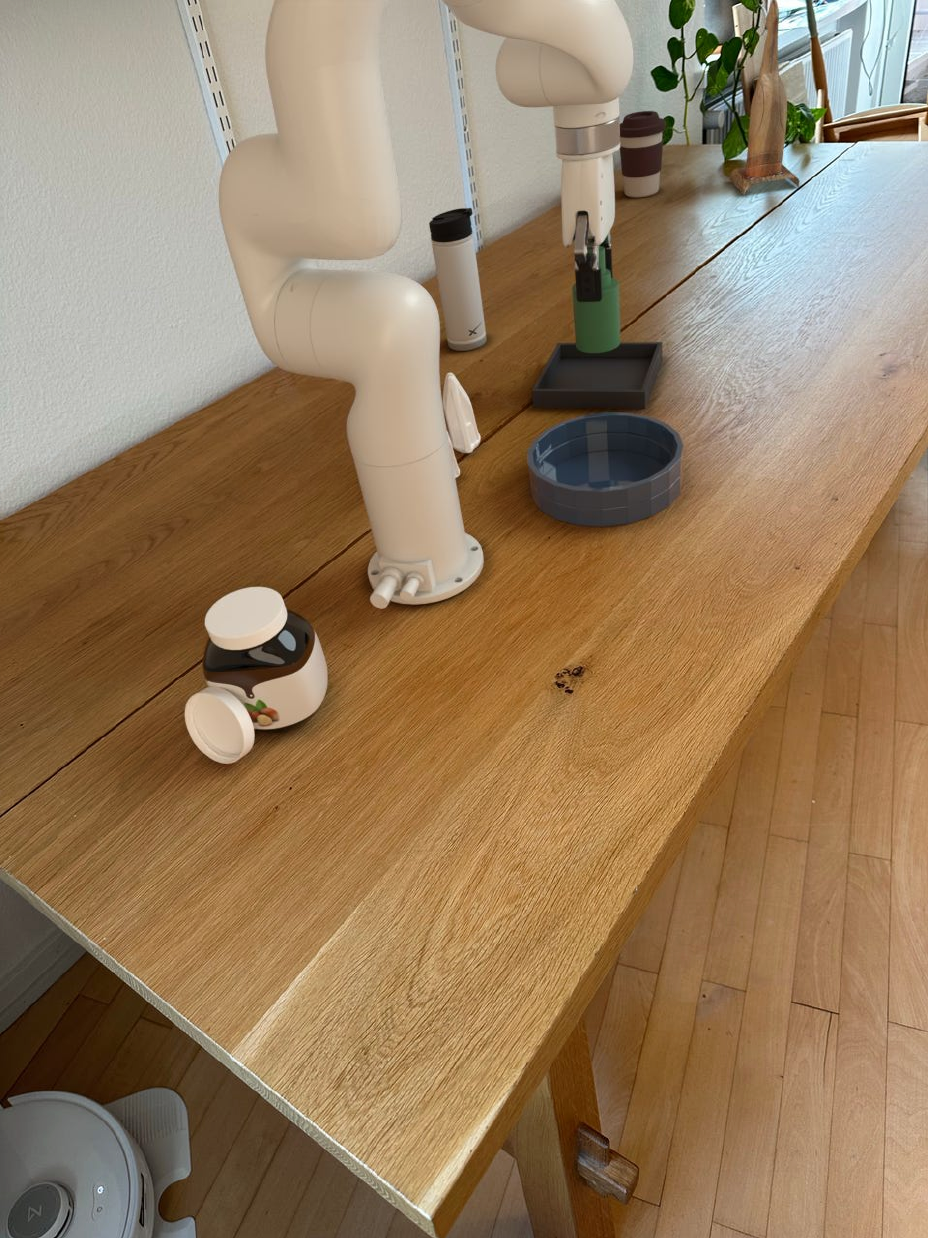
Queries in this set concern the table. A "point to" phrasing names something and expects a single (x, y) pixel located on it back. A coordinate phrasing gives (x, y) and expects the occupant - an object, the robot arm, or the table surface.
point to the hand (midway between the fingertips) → (595, 289)
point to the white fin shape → (459, 419)
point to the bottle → (598, 315)
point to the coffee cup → (641, 152)
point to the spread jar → (254, 674)
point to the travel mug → (458, 279)
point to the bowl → (606, 469)
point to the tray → (599, 377)
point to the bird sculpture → (766, 118)
